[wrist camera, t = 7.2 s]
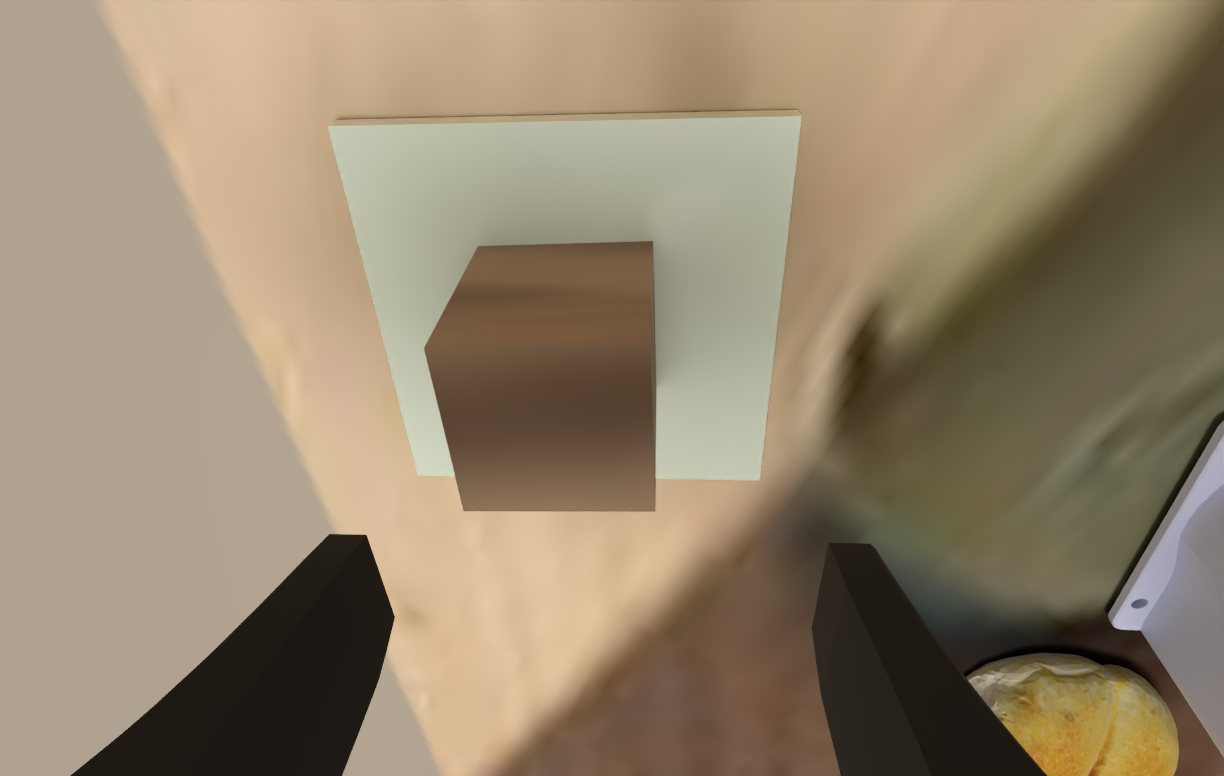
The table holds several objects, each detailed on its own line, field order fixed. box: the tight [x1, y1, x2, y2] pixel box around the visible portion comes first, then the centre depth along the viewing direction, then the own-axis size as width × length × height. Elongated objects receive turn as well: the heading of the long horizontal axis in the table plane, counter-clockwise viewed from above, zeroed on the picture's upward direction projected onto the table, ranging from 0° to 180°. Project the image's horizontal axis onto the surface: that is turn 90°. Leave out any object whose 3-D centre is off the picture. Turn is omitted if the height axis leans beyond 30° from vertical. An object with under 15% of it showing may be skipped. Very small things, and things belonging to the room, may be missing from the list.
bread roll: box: [966, 653, 1179, 776], centre depth 28 cm, size 8×9×4 cm
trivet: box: [327, 110, 802, 480], centre depth 19 cm, size 11×11×1 cm
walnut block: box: [424, 241, 656, 511], centre depth 17 cm, size 4×4×5 cm
